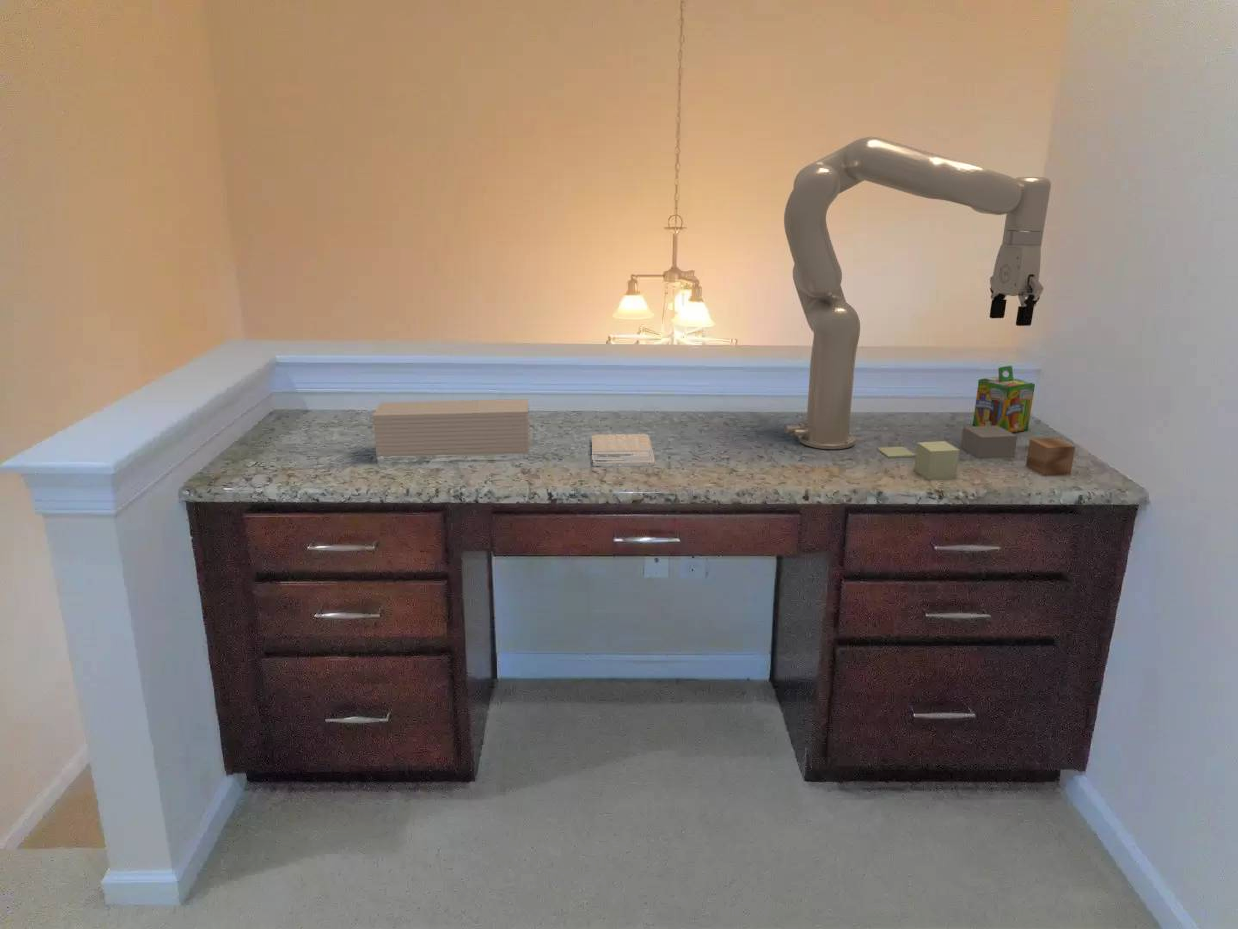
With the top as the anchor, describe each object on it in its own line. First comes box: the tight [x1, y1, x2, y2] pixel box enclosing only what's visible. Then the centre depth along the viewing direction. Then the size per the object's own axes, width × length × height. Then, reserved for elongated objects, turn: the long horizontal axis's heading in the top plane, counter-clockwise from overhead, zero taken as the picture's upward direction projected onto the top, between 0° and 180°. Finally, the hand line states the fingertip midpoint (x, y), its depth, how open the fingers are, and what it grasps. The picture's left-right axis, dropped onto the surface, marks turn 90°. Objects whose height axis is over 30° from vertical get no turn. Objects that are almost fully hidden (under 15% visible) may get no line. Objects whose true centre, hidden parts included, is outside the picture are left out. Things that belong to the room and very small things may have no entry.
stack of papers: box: [372, 398, 531, 458], centre depth 187 cm, size 32×11×11 cm, turn 95°
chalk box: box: [972, 365, 1036, 434], centre depth 203 cm, size 9×9×15 cm
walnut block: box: [1025, 437, 1076, 477], centre depth 176 cm, size 6×6×6 cm
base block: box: [960, 425, 1018, 460], centre depth 188 cm, size 8×8×5 cm
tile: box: [876, 446, 916, 459], centre depth 188 cm, size 6×6×1 cm
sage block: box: [913, 440, 960, 481], centre depth 174 cm, size 6×6×6 cm
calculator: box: [590, 433, 656, 464], centre depth 189 cm, size 13×20×2 cm, turn 2°
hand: (1009, 321), depth 185 cm, fingers open, 9 cm apart
